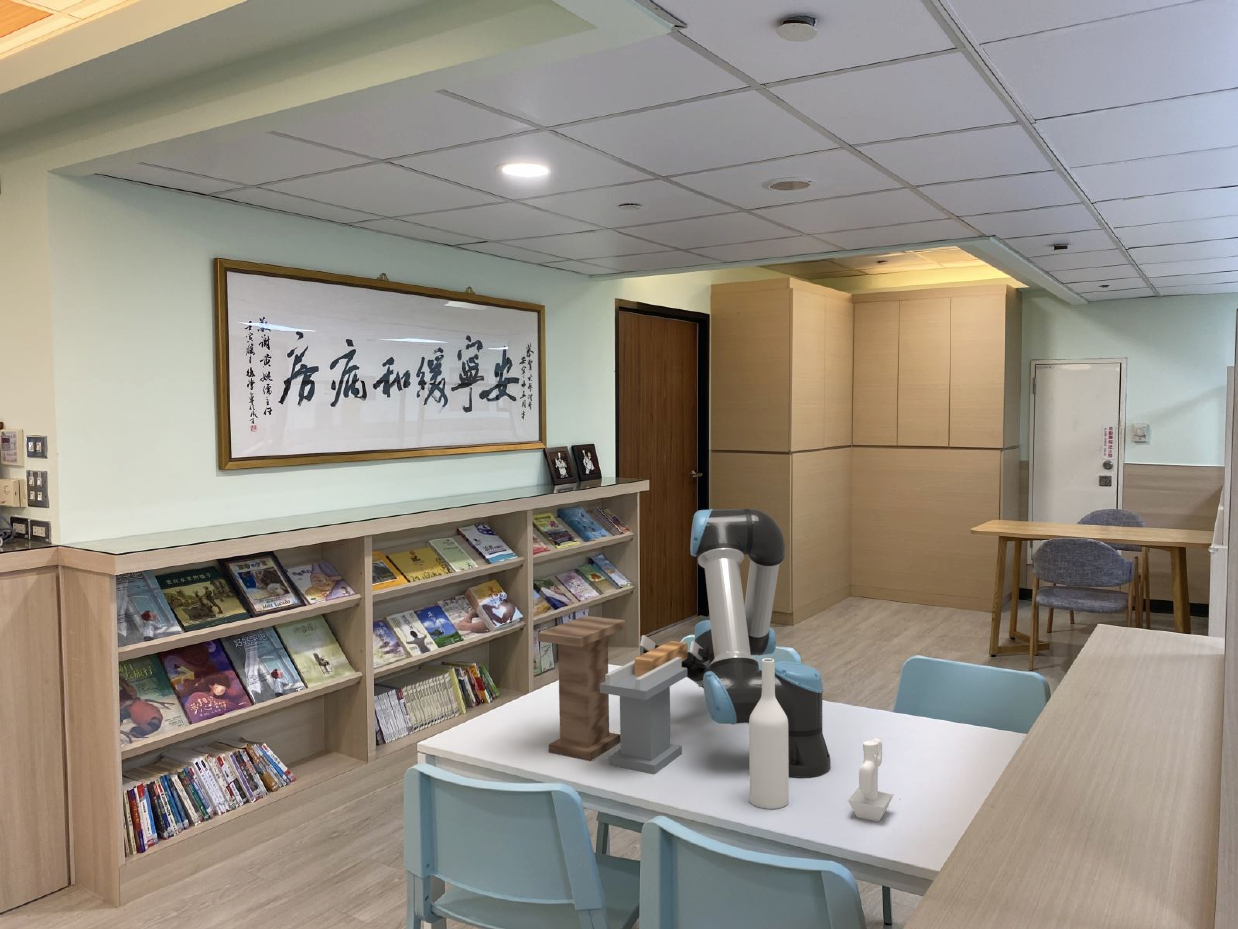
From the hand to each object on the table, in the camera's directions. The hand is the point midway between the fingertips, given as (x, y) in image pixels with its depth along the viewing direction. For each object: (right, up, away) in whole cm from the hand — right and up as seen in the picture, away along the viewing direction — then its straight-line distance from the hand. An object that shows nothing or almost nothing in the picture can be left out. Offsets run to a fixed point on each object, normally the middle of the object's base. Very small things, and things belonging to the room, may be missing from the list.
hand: (666, 643), depth 223 cm
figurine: (+39, -27, -40) cm, 62 cm away
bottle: (+20, -27, -33) cm, 47 cm away
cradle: (-5, -26, -9) cm, 28 cm away
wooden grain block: (-1, -5, -2) cm, 6 cm away
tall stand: (-20, -25, 0) cm, 32 cm away
